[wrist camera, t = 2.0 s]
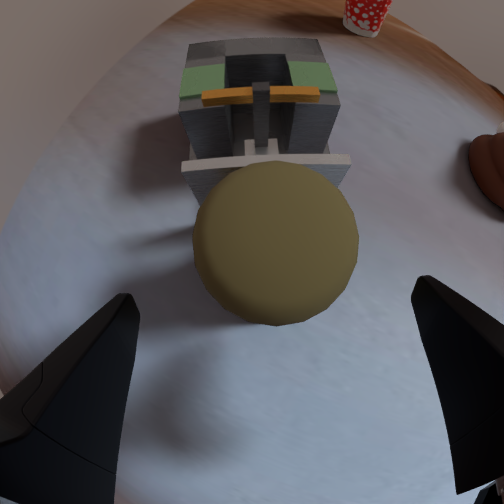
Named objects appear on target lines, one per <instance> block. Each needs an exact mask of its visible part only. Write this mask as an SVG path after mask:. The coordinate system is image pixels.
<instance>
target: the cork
mask: <svg viewBox="0 0 504 504" xmlns="http://www.w3.org/2000/svg"><path fill="white" fill-rule="evenodd" d="M192 240H193V250H194V260H195V266H196V268H197V271H198V273H199V275H200V277H201V279H202V282H203V284H204V286H205V288H206V290H207V291H208V292H209V293H210V294H211V295H212V296H213V297H214V298H215V299H216V300H217V302H218V303H219V304H220V305H221V306H222V307H223V308H224V309H226V310H227V311H229V312H231V313H233V314H235V315H237V316H239V317H241V318H242V319H244V320H246V321H248V322H252V323H258V324H265V325H271V326H282V325H288V324H293V323H299V322H304V321H306V320H308V319H309V318H311V317H313V316H315V315H317V314H319V313H321V312H322V311H324V310H326V309H327V308H328V307H329V306H330V305H331V304H332V303H333V302H334V301H335V300H336V299H337V298H338V296H339V295H340V294H341V293H342V292H343V291H344V290H345V288H346V286H347V284H348V282H349V279H350V277H351V275H352V272H353V270H354V268H355V265H356V263H357V256H358V244H359V234H358V230H357V226H356V222H355V217H354V213H353V211H352V209H351V208H350V206H349V204H348V203H347V201H346V199H345V198H344V196H343V194H342V193H341V191H340V190H339V189H338V188H336V187H335V186H334V185H333V184H332V183H331V182H330V181H329V180H328V179H326V178H325V177H324V176H323V175H322V174H320V173H318V172H316V171H313V170H311V169H309V168H307V167H305V166H303V165H301V164H296V163H290V162H284V161H277V160H275V161H266V162H259V163H252V164H249V165H247V166H245V167H242V168H240V169H238V170H236V171H234V172H231V173H229V174H228V175H227V176H226V177H225V178H223V179H222V180H221V181H220V182H219V183H218V184H217V185H215V186H214V187H213V188H212V189H211V190H210V192H209V194H208V195H207V197H206V198H205V200H204V202H203V203H202V205H201V207H200V208H199V210H198V214H197V218H196V222H195V226H194V231H193V239H192Z"/></svg>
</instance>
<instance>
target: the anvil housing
mask: <svg viewBox="0 0 504 504" xmlns="http://www.w3.org/2000/svg"><path fill="white" fill-rule="evenodd" d="M252 82H269V85H270V86H312V87H318V88H319V92H320V99H319V103H308V102H270V109H269V135H268V139H277V143H278V152H279V154H330V151H329V147H328V142H327V141H328V139H329V136H330V133H331V130H332V128H333V125H334V122H335V120H336V117H337V114H338V111H339V109H340V106H341V105H340V101H339V98H338V95H337V91H338V90H337V87H336V84H335V81H334V79H333V76H332V73H331V70H330V67H329V65H328V63H326V60H325V58H324V55H323V52H322V50H321V47H320V45H319V42H318V40H317V39H305V38H244V39H230V40H219V41H210V42H202V43H195V44H189V48H188V54H187V59H186V64H185V69H184V70H183V75H182V81H181V88H180V94H179V98H180V102H179V110H178V113H179V115H180V118H181V120H182V123H183V125H184V128H185V130H186V133H187V135H188V138H189V140H190V153H189V161H190V160H199V159H210V158H221V157H234V156H245V141H244V140H252V139H254V120H253V103H246V104H231V105H220V106H210V107H203V103H202V100H201V98H202V91H206V90H215V89H226V88H239V87H252Z"/></svg>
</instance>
